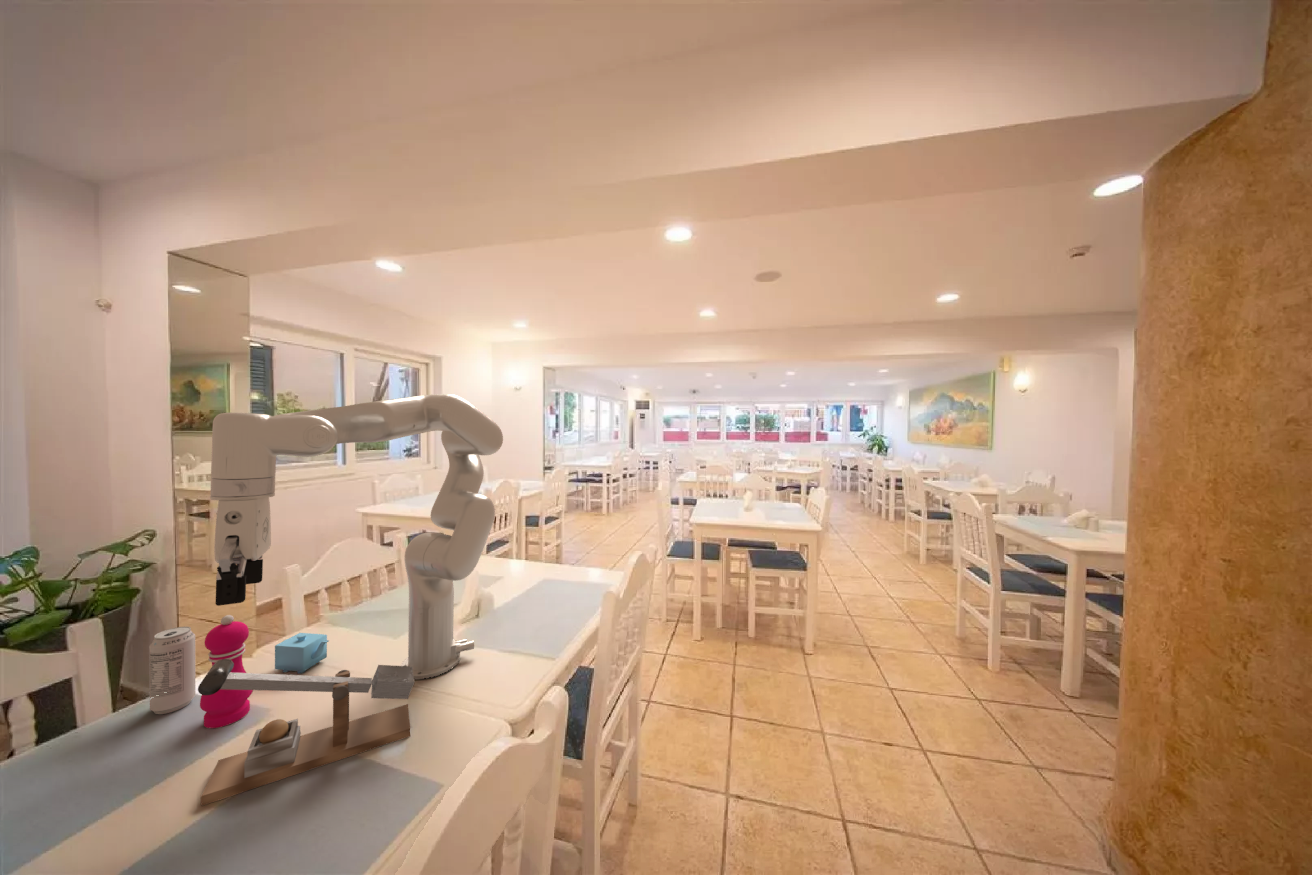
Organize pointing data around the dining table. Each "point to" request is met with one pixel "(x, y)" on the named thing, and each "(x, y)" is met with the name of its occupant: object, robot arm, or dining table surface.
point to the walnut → (273, 731)
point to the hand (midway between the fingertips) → (240, 592)
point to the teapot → (300, 652)
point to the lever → (310, 681)
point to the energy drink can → (172, 670)
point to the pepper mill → (230, 645)
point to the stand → (306, 747)
